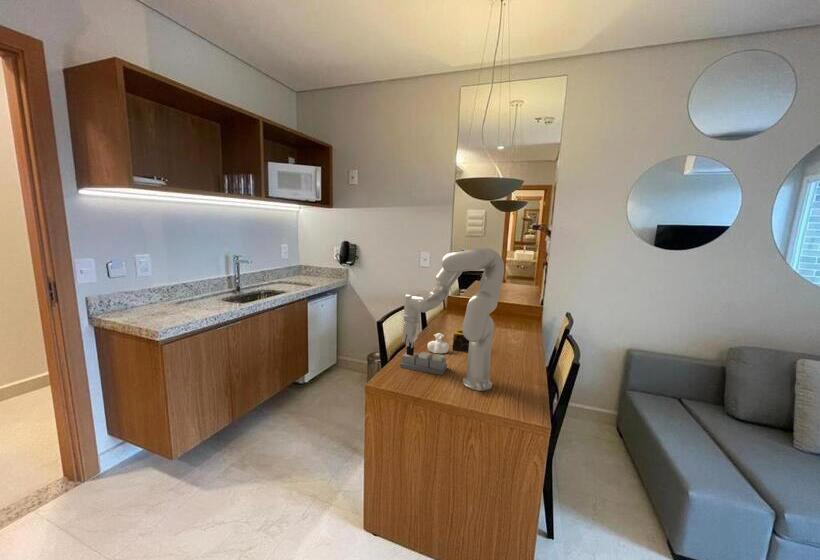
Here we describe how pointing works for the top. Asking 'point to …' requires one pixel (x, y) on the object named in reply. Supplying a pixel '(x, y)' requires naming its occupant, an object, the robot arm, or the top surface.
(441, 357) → the sage button
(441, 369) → the button board
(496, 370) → the top surface
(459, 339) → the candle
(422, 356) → the cream button
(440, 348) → the bust
